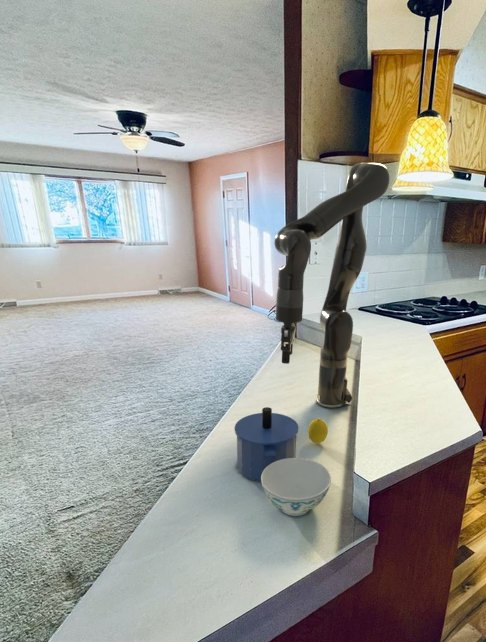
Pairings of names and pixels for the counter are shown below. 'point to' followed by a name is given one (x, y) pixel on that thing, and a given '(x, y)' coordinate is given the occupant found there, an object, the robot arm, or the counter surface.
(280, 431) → the lid
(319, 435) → the lemon
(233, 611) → the counter surface
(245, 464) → the pot
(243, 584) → the counter surface
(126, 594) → the counter surface
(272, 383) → the counter surface
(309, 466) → the chinaware
